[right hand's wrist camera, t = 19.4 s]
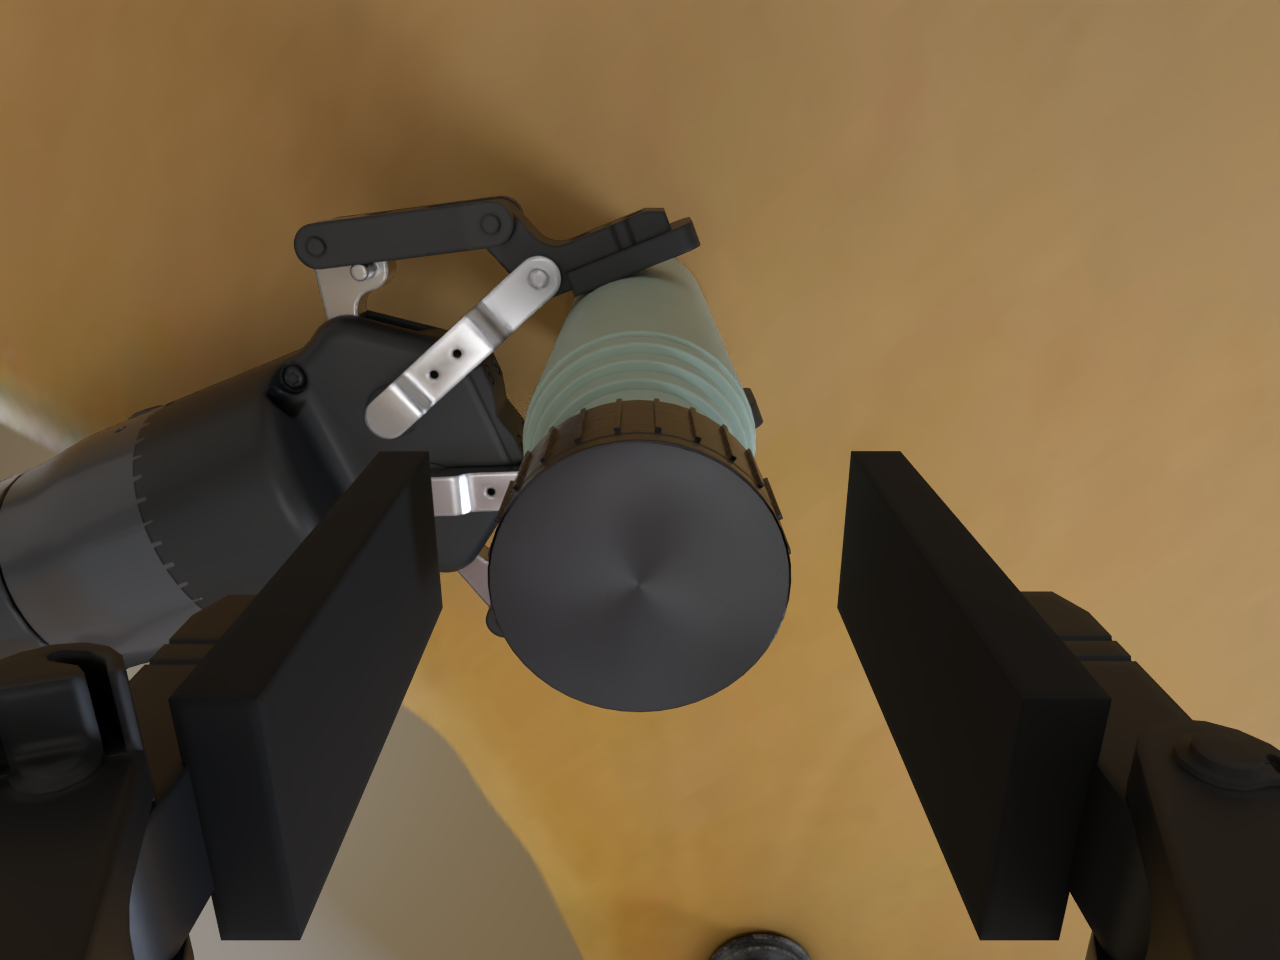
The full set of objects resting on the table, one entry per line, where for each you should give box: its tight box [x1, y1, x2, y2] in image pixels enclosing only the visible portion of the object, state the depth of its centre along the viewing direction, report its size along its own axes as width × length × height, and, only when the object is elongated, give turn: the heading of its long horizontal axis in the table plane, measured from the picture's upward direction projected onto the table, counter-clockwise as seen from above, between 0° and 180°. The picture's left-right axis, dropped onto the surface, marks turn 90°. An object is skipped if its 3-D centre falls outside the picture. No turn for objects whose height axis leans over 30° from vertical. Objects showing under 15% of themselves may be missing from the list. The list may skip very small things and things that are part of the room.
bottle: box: [523, 258, 756, 458], centre depth 23 cm, size 5×5×20 cm
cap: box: [488, 398, 791, 712], centre depth 13 cm, size 4×4×2 cm
